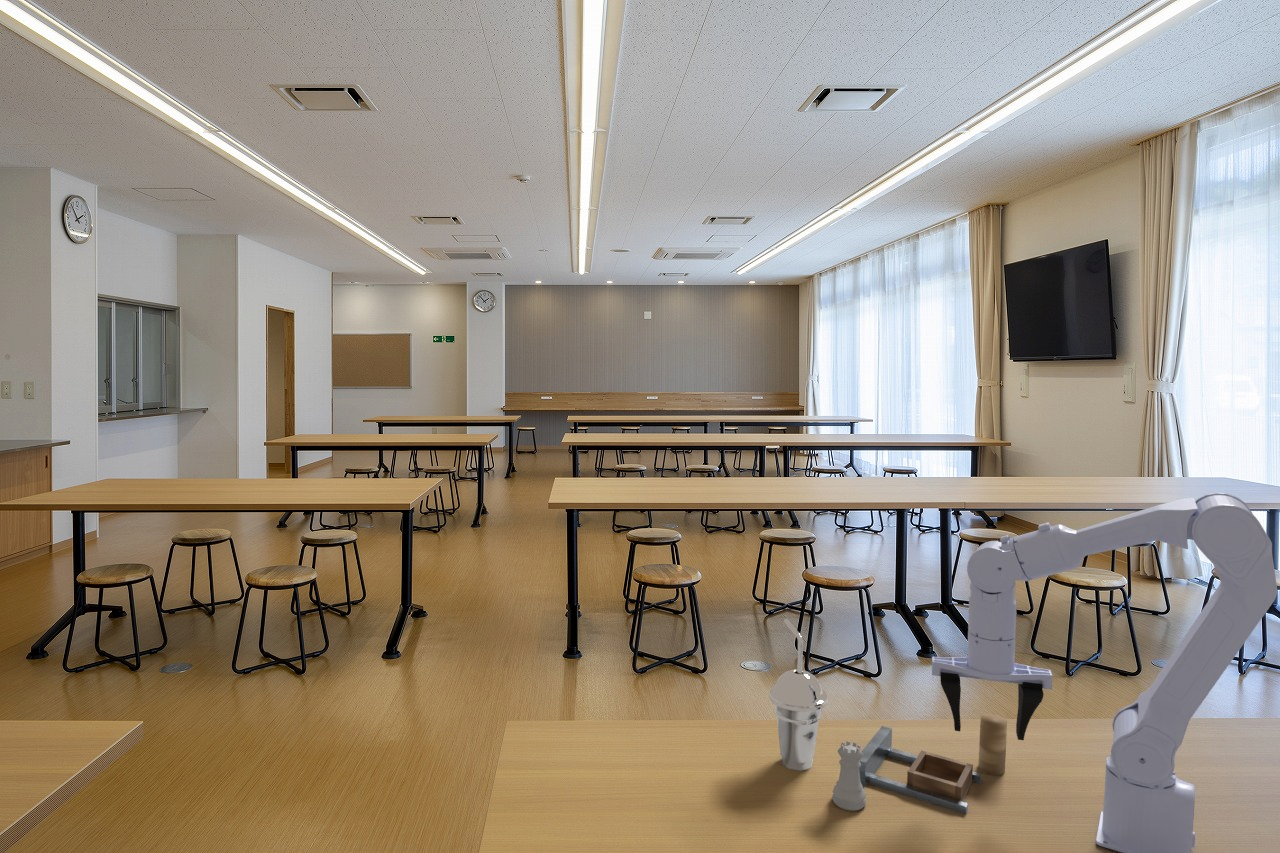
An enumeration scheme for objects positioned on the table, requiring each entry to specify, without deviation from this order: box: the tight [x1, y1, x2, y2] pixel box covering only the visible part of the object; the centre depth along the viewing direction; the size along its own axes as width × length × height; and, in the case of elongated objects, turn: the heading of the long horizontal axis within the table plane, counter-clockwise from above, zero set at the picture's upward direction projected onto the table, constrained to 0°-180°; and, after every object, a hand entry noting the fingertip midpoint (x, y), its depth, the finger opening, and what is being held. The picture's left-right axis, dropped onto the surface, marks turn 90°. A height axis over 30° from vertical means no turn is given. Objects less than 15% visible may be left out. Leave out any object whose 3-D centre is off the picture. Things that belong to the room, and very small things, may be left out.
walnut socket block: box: [906, 750, 974, 802], centre depth 109 cm, size 7×7×3 cm
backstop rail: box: [859, 725, 983, 815], centre depth 111 cm, size 14×12×4 cm
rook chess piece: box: [831, 740, 867, 812], centre depth 105 cm, size 4×4×8 cm
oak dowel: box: [977, 713, 1008, 776], centre depth 114 cm, size 4×4×8 cm
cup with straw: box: [768, 618, 829, 771], centre depth 115 cm, size 8×9×20 cm
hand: (988, 732), depth 106 cm, fingers open, 7 cm apart
